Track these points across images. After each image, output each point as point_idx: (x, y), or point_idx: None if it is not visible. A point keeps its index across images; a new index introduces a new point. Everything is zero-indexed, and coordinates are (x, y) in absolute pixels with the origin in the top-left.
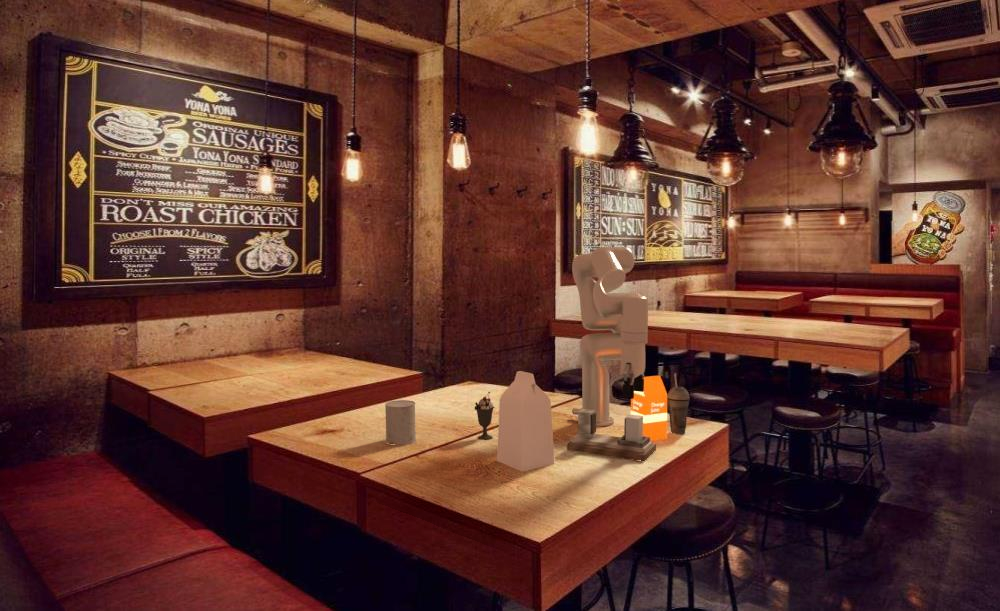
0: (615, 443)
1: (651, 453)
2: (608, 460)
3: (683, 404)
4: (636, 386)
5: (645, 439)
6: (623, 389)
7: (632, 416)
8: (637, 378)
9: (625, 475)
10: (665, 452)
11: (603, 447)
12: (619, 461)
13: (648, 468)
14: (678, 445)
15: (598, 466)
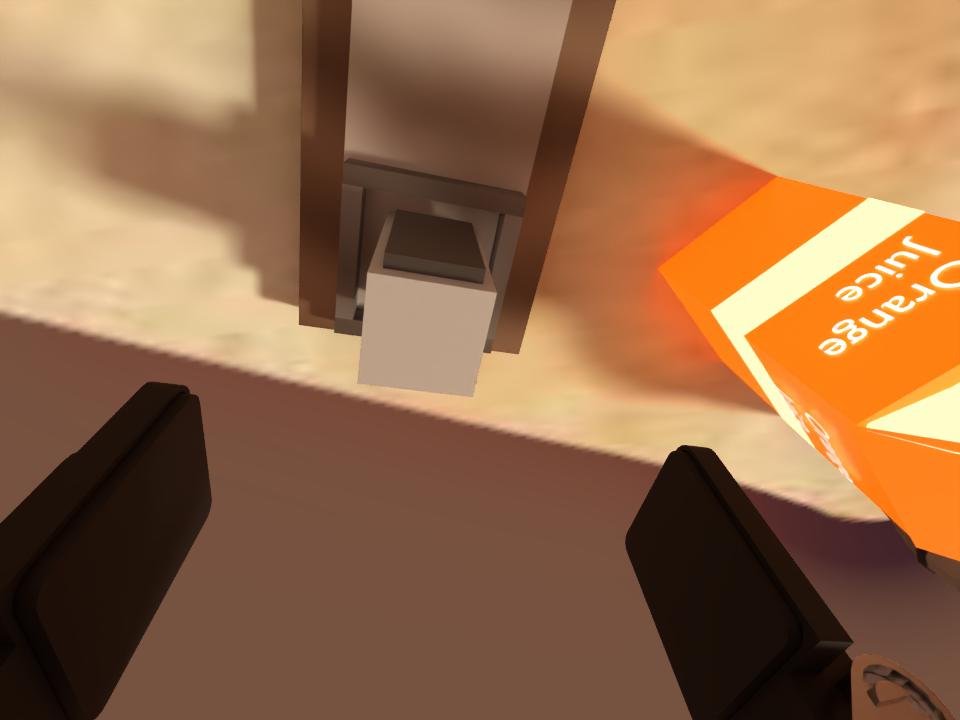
0: (373, 139)
1: None
2: (231, 106)
3: (902, 533)
4: (684, 534)
5: None
6: (50, 493)
7: (425, 324)
8: (766, 689)
9: (29, 248)
10: (496, 378)
11: (339, 43)
12: (249, 180)
13: (216, 338)
14: (617, 414)
15: (69, 55)
